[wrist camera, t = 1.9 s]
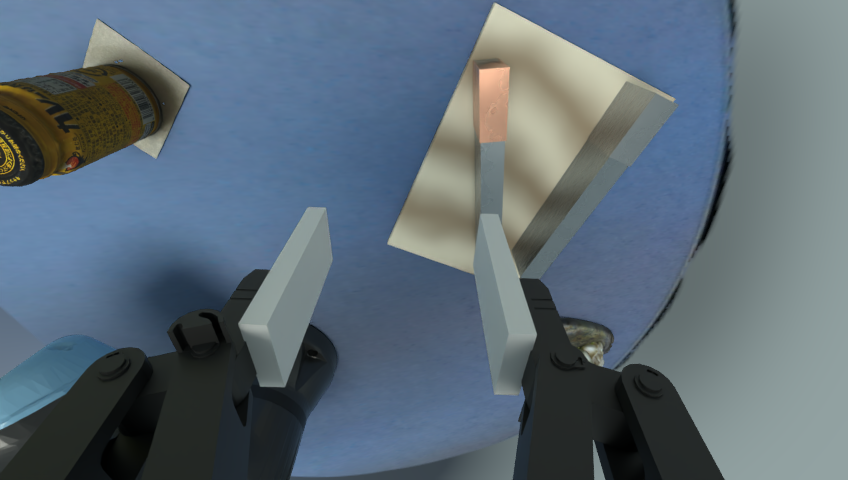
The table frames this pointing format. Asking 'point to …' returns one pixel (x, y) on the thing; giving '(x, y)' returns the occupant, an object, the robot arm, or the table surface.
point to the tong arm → (489, 134)
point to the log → (589, 338)
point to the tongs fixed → (591, 175)
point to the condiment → (86, 111)
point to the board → (526, 138)
